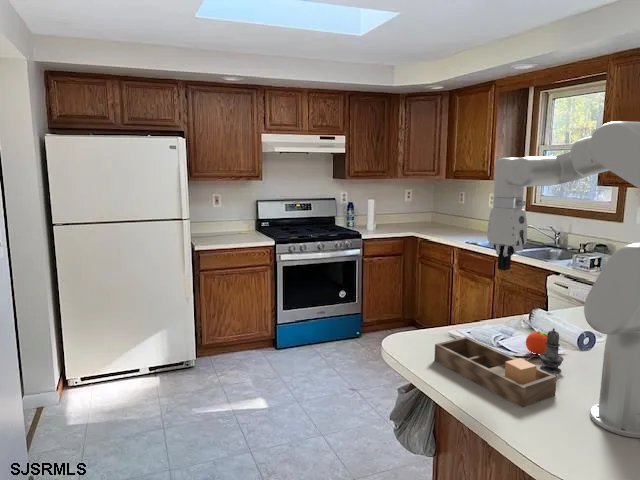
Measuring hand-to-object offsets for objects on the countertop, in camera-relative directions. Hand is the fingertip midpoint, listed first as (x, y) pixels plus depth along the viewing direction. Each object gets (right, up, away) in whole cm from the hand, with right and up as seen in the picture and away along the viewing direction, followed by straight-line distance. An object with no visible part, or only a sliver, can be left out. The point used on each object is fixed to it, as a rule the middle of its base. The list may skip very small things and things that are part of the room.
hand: (503, 269), depth 132 cm
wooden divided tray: (-6, -28, -5) cm, 30 cm away
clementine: (+14, -26, +9) cm, 31 cm away
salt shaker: (+12, -28, -1) cm, 31 cm away
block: (-2, -27, -14) cm, 31 cm away
